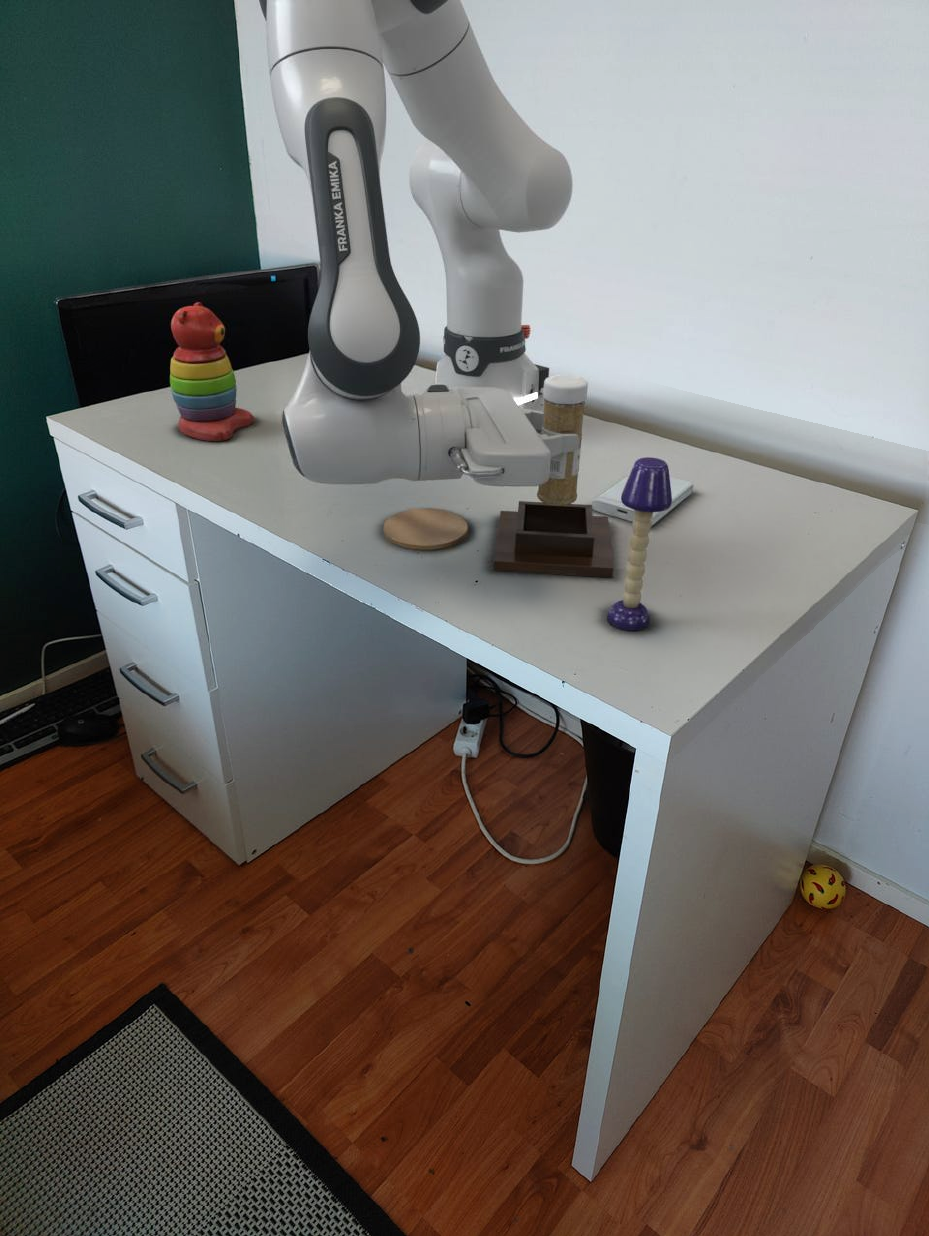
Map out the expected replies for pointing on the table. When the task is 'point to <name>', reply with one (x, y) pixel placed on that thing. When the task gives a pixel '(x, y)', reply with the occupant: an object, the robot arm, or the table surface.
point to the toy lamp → (640, 536)
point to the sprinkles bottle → (559, 415)
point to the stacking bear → (204, 377)
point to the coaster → (425, 529)
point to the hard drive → (615, 507)
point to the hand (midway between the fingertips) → (569, 431)
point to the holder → (554, 541)
